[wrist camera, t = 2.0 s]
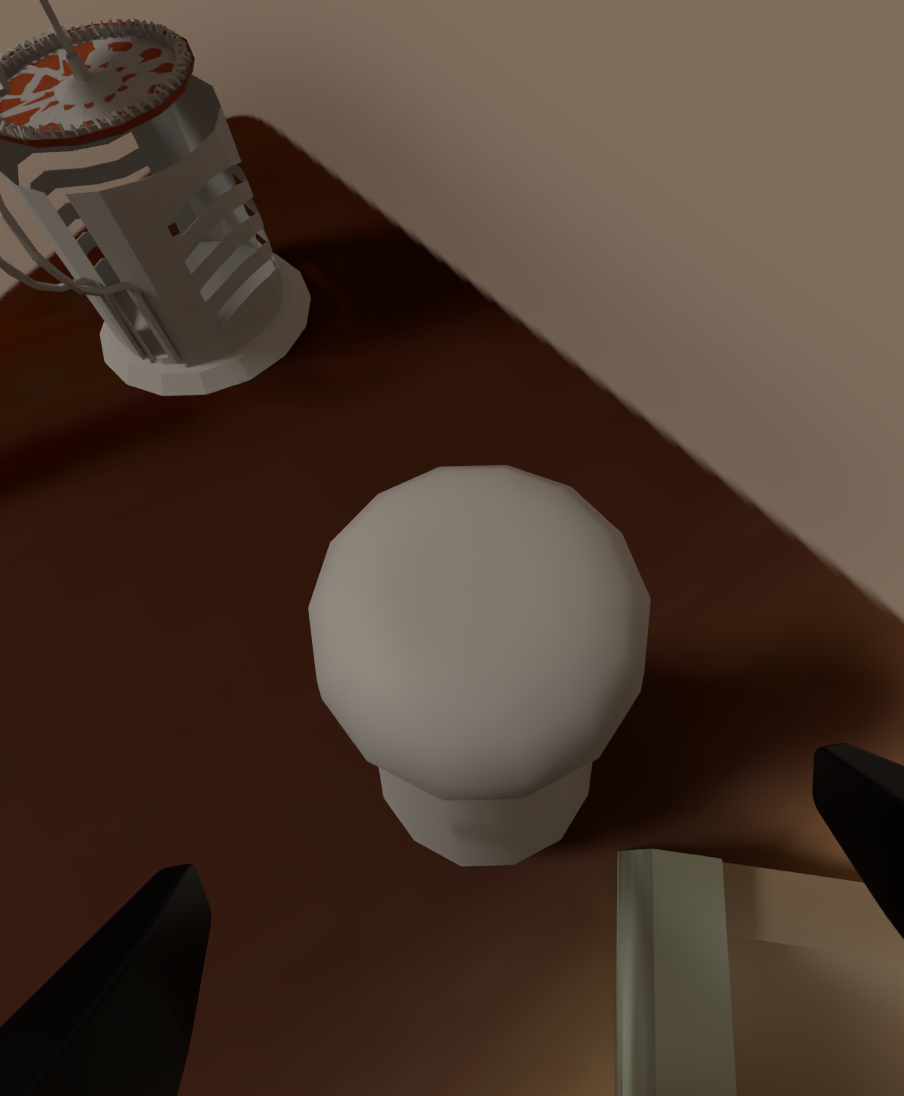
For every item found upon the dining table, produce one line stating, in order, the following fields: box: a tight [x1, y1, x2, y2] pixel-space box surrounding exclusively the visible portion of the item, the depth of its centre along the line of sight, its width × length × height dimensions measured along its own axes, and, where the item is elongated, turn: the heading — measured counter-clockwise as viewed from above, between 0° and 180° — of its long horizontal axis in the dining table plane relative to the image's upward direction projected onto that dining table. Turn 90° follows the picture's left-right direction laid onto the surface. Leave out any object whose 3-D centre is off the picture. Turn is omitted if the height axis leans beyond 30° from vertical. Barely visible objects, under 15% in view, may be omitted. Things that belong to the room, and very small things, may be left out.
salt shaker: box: [308, 465, 651, 866], centre depth 13 cm, size 6×6×13 cm
